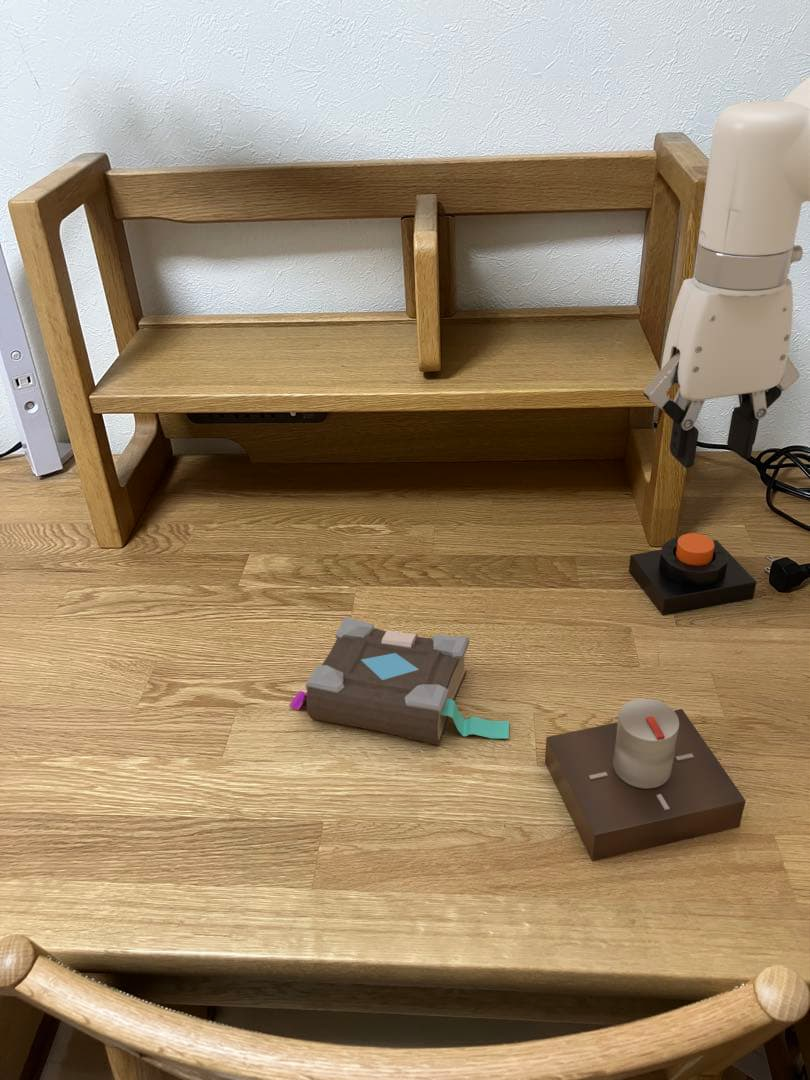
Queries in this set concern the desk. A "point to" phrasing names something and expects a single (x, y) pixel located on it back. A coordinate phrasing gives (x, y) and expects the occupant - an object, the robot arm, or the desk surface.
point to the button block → (690, 579)
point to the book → (393, 684)
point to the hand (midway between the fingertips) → (710, 454)
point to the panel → (640, 792)
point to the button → (695, 549)
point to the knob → (645, 743)
